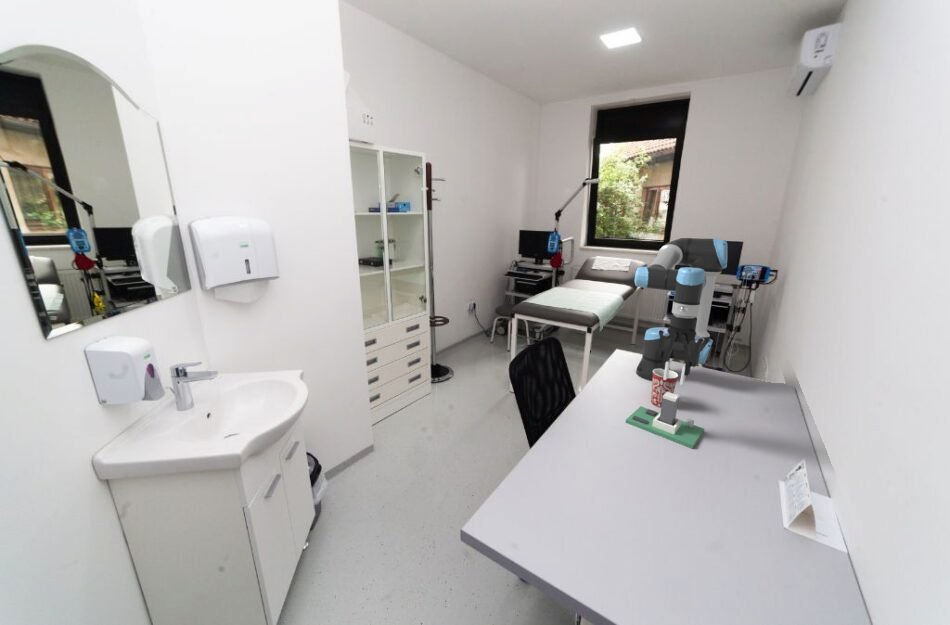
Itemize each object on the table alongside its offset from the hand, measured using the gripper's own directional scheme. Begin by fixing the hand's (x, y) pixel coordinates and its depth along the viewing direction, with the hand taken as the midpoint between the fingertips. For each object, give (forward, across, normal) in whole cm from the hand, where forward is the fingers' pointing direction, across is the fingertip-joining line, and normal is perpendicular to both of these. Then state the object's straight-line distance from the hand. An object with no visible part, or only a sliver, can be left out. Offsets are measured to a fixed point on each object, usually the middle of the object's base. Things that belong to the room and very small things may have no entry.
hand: (673, 380), depth 125 cm
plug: (+17, 0, 0) cm, 17 cm away
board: (+19, -1, +1) cm, 19 cm away
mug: (+19, -8, +20) cm, 29 cm away
